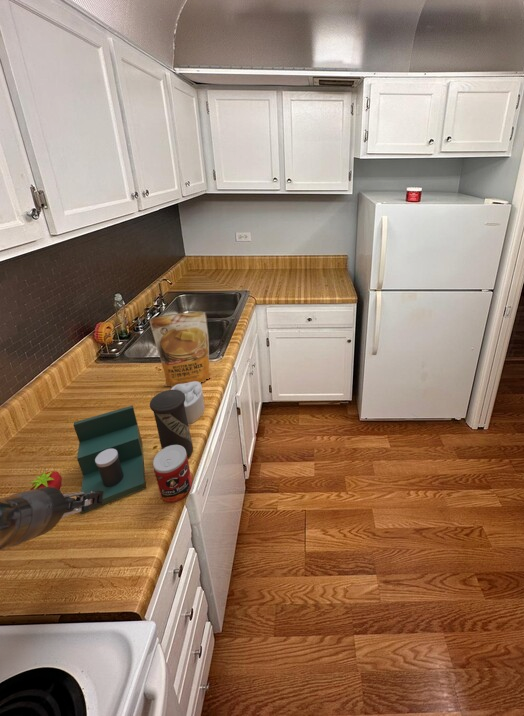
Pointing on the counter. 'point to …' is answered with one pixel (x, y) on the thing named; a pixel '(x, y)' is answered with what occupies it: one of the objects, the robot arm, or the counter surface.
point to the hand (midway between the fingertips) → (76, 499)
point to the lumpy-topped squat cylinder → (192, 400)
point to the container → (172, 419)
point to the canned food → (172, 473)
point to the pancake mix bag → (182, 346)
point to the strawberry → (47, 480)
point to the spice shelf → (111, 434)
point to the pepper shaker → (109, 467)
